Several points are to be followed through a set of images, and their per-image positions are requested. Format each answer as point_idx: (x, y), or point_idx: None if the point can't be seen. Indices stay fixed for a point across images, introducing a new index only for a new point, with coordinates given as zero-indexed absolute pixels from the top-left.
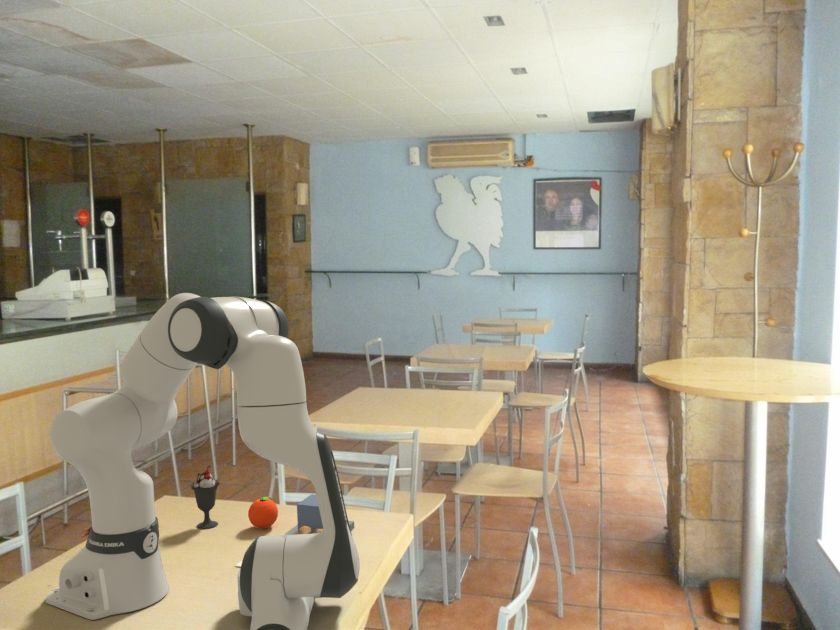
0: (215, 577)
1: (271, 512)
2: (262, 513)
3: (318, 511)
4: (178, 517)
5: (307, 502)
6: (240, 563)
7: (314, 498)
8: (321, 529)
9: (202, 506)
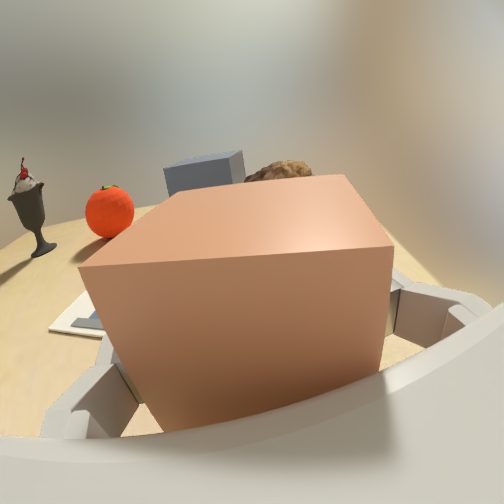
0: (4, 372)
1: (120, 205)
2: (105, 209)
3: (214, 171)
4: (22, 248)
5: (184, 163)
6: (59, 320)
7: (195, 158)
8: (293, 161)
9: (26, 223)
